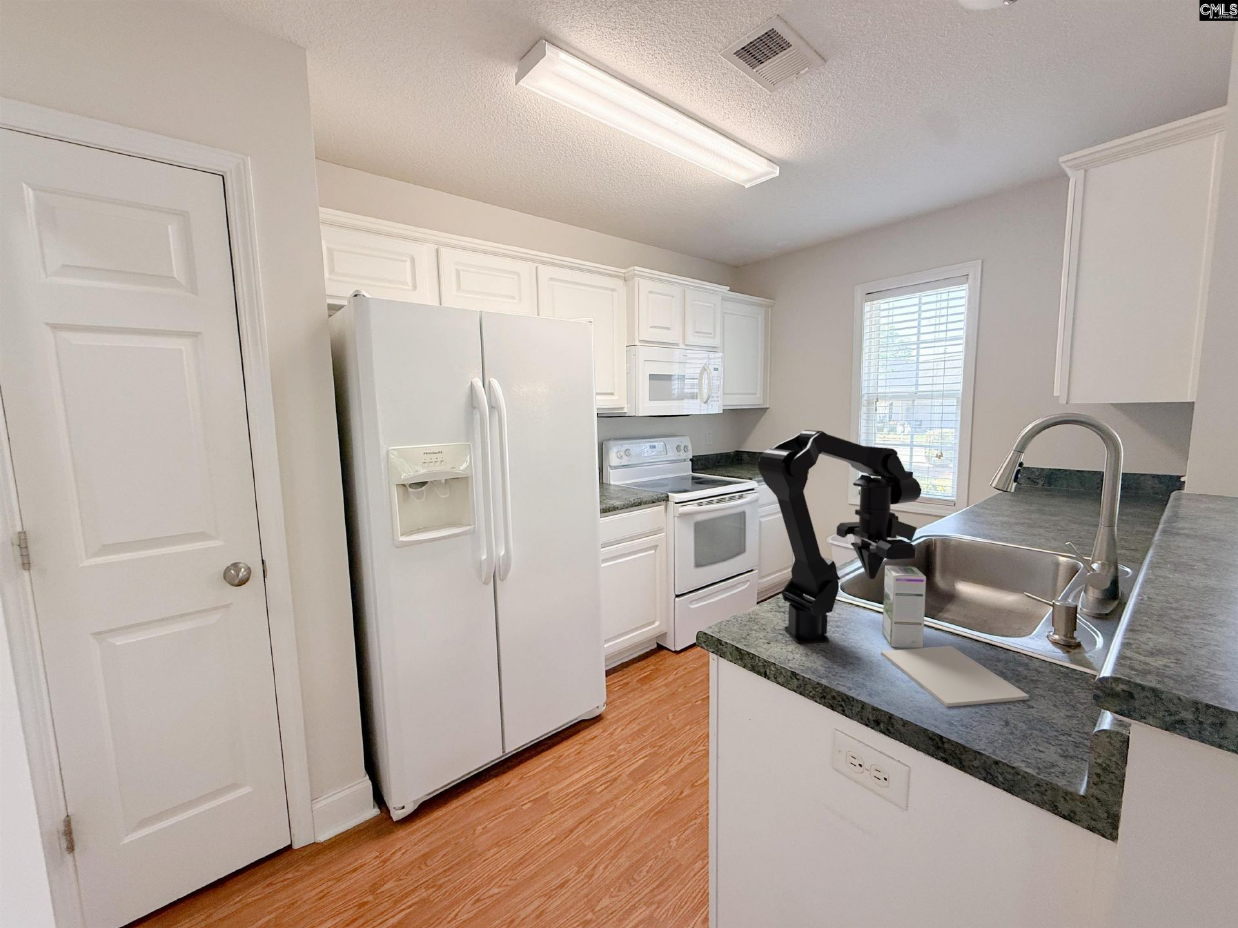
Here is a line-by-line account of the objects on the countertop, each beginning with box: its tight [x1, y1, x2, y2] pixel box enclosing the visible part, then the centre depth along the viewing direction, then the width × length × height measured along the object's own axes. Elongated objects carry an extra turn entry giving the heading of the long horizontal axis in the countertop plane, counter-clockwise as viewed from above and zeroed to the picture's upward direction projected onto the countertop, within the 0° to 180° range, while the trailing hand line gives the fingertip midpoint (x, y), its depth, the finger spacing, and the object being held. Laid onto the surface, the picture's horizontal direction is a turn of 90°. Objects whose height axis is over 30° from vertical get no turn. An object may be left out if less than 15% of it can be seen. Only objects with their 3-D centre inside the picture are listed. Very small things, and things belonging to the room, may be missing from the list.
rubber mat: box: [880, 645, 1030, 708], centre depth 85 cm, size 14×16×1 cm
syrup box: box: [882, 564, 927, 649], centre depth 96 cm, size 6×6×14 cm
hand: (871, 578), depth 106 cm, fingers closed
